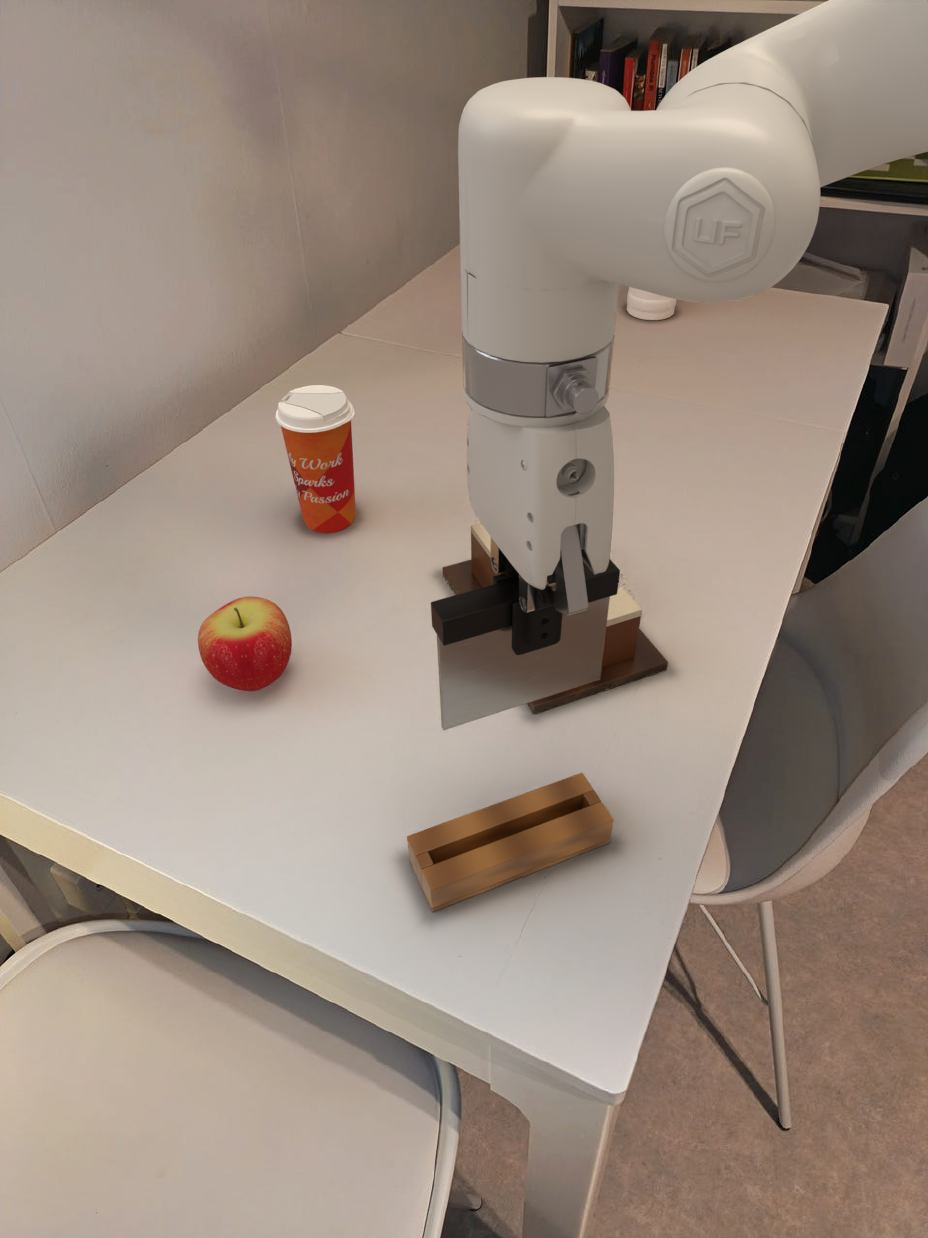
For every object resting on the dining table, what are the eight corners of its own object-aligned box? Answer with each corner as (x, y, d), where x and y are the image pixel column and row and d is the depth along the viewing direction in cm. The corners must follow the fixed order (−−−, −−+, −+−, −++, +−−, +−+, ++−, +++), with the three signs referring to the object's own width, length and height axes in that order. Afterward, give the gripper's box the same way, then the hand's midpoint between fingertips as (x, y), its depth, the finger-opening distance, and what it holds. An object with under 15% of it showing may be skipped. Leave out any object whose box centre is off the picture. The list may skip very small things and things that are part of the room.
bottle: (679, 305, 147) (709, 99, 127) (669, 323, 141) (699, 112, 121) (632, 298, 149) (654, 96, 129) (620, 316, 144) (641, 108, 124)
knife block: (579, 795, 73) (582, 772, 71) (610, 842, 69) (614, 819, 67) (408, 858, 68) (406, 835, 66) (432, 912, 65) (430, 890, 63)
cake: (558, 542, 99) (562, 488, 94) (667, 669, 83) (677, 613, 79) (442, 574, 95) (440, 520, 90) (533, 714, 79) (536, 658, 75)
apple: (210, 717, 80) (185, 635, 73) (208, 653, 86) (185, 573, 79) (302, 700, 81) (285, 618, 74) (293, 639, 87) (277, 559, 81)
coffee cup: (282, 532, 101) (259, 414, 91) (312, 493, 107) (294, 378, 97) (350, 544, 99) (335, 424, 89) (376, 504, 105) (365, 387, 95)
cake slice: (616, 634, 86) (622, 586, 82) (635, 657, 83) (642, 609, 79) (532, 660, 83) (534, 612, 79) (549, 685, 81) (552, 637, 77)
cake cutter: (592, 668, 64) (604, 552, 57) (605, 687, 62) (620, 570, 55) (437, 718, 60) (430, 601, 53) (447, 739, 59) (442, 621, 52)
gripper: (687, 421, 40) (641, 698, 53) (533, 297, 51) (525, 550, 64) (540, 457, 38) (527, 737, 50) (412, 319, 49) (427, 577, 61)
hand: (526, 631), depth 57 cm, fingers closed on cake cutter, 2 cm apart
